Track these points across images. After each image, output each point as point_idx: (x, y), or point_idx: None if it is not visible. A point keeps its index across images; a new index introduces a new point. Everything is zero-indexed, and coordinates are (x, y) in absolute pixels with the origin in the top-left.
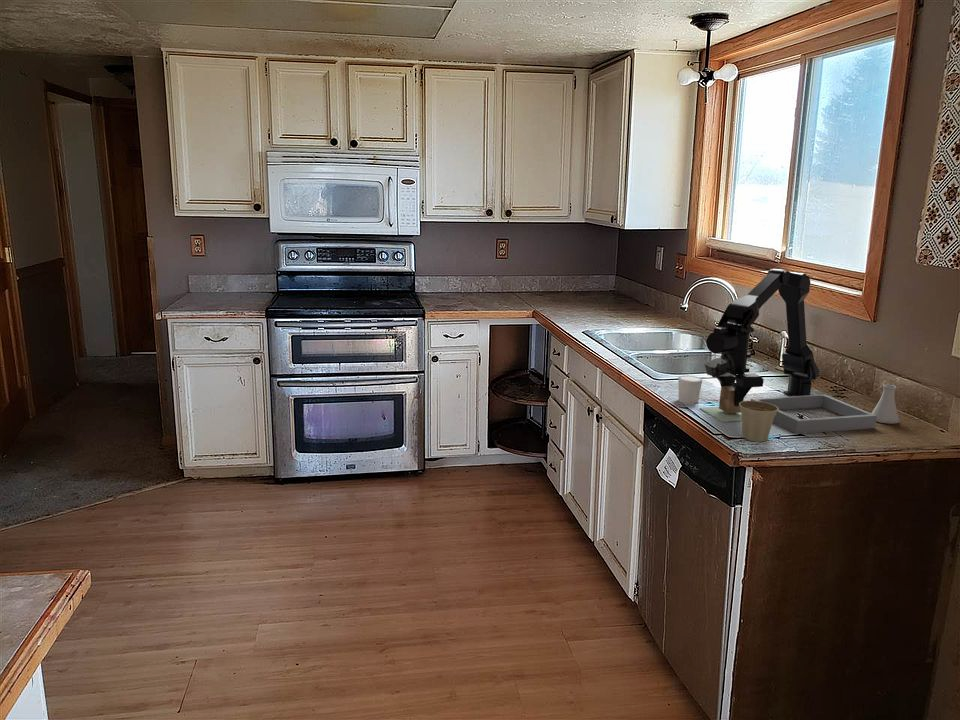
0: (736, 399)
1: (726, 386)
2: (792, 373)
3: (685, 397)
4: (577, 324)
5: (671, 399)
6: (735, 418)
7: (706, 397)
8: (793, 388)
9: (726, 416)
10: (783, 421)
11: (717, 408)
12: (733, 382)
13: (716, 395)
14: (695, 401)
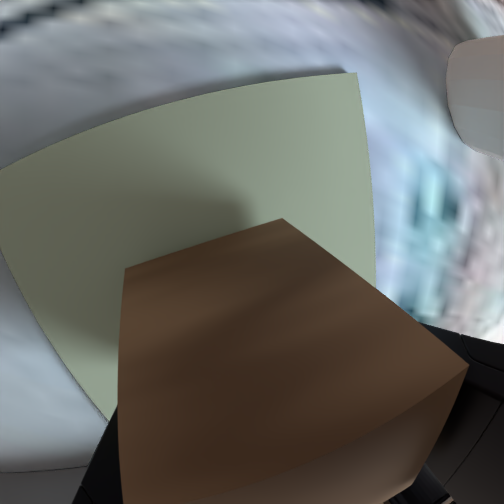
0: (99, 444)
1: (423, 437)
2: (444, 501)
3: (481, 48)
4: None
5: (486, 23)
6: (65, 306)
7: (497, 223)
8: (413, 483)
9: (104, 243)
10: (44, 493)
11: (337, 220)
12: (450, 485)
13: (498, 275)
14: (460, 113)
